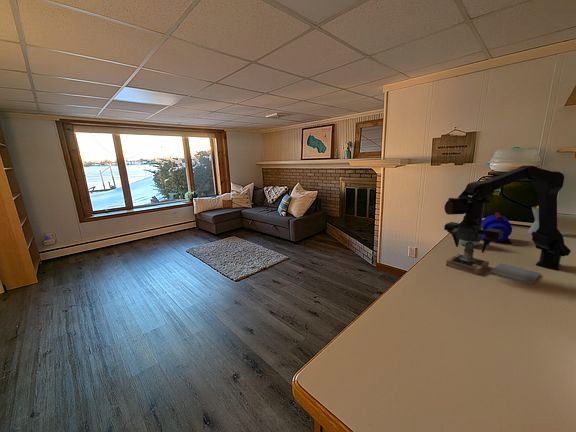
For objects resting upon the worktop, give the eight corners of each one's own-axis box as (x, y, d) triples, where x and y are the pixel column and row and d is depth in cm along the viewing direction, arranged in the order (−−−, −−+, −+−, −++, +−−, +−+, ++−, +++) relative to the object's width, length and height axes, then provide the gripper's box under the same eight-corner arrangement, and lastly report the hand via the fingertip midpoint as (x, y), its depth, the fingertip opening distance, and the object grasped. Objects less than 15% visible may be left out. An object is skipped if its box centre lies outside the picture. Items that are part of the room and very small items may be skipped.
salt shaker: (478, 269, 99) (482, 242, 96) (462, 269, 100) (465, 242, 97) (470, 263, 105) (474, 238, 102) (455, 263, 106) (459, 237, 103)
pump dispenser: (474, 249, 119) (478, 220, 116) (452, 244, 128) (455, 216, 125) (484, 245, 124) (489, 217, 120) (462, 240, 133) (466, 213, 129)
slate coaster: (500, 264, 102) (500, 263, 102) (540, 275, 92) (540, 273, 92) (490, 273, 96) (490, 271, 96) (531, 284, 86) (531, 282, 86)
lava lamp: (523, 230, 143) (533, 171, 135) (541, 231, 141) (552, 171, 133) (534, 235, 134) (547, 172, 126) (554, 235, 132) (567, 172, 124)
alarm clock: (507, 238, 132) (511, 212, 129) (512, 245, 122) (517, 217, 119) (479, 235, 139) (483, 210, 135) (482, 242, 129) (486, 215, 125)
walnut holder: (457, 258, 110) (458, 253, 109) (488, 267, 101) (489, 261, 100) (446, 265, 104) (446, 260, 103) (477, 275, 95) (478, 269, 94)
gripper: (439, 213, 100) (436, 248, 104) (495, 221, 85) (489, 261, 89) (451, 209, 106) (448, 242, 110) (506, 216, 91) (500, 254, 95)
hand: (469, 249), depth 101 cm, fingers open, 9 cm apart
